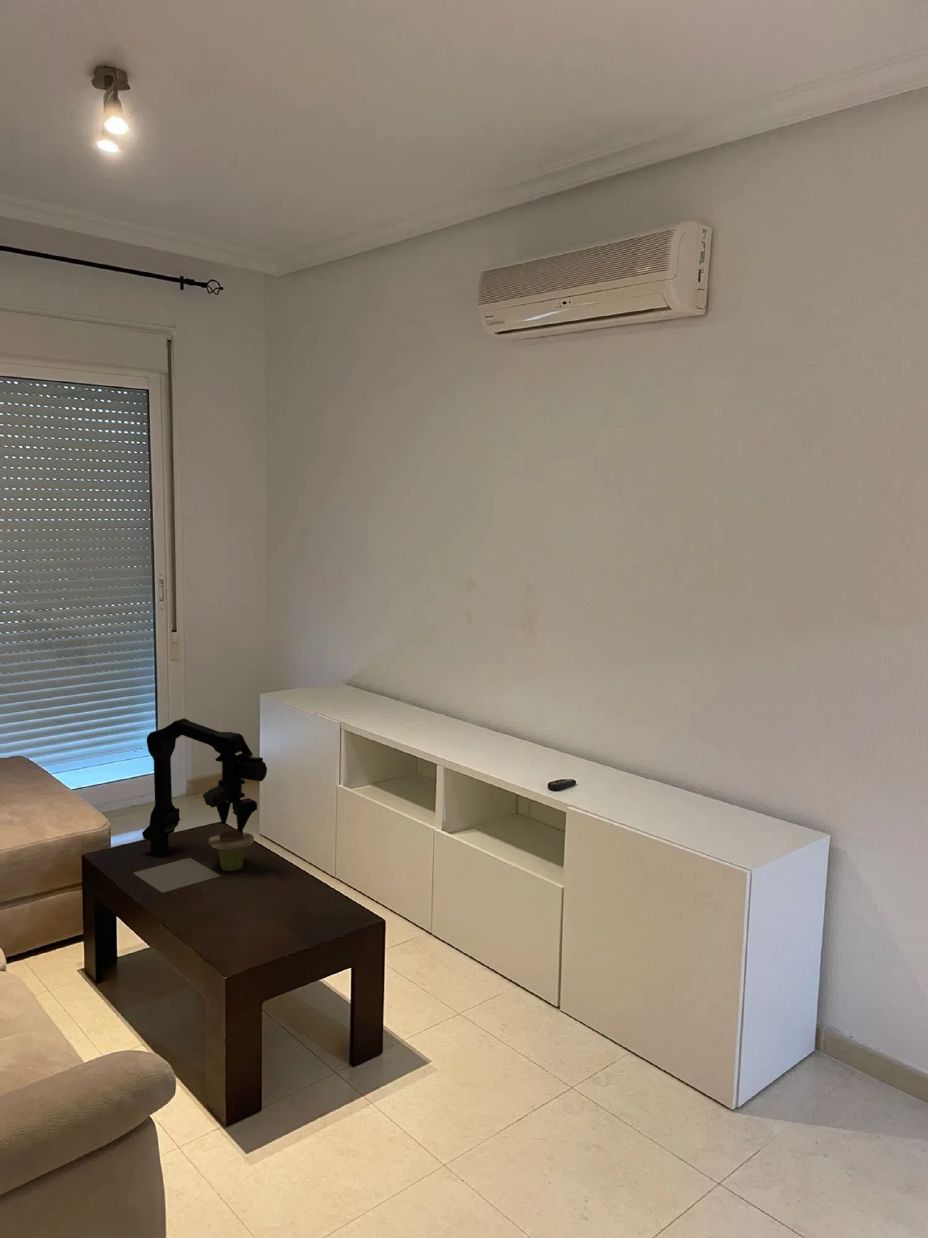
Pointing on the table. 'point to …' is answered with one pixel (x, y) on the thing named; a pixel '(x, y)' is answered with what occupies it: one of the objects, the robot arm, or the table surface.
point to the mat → (176, 874)
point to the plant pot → (231, 859)
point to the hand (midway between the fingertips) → (231, 828)
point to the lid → (231, 840)
